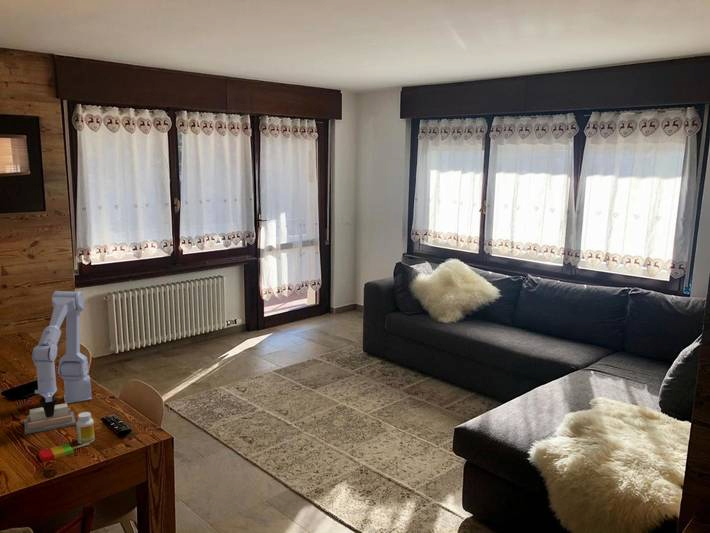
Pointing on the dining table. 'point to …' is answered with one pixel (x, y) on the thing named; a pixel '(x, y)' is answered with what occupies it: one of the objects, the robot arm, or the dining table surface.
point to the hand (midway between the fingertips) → (49, 413)
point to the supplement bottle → (85, 428)
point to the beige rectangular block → (40, 415)
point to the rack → (49, 423)
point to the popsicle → (58, 452)
